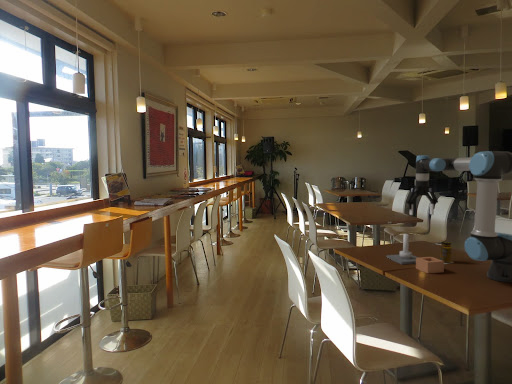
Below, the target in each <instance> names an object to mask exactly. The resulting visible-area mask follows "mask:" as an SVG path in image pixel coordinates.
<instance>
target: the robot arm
mask: <svg viewBox="0 0 512 384" xmlns="http://www.w3.org/2000/svg"><path fill="white" fill-rule="evenodd" d="M444 171H445V172H452V171H453V172H458V171H459V172H460V171H461V172H462V171H463V172H465V171H467V172H469V171H470V173H471V175H473V179H474V181H476V183H477V184H476V195H475V196H476V199H475V214H474V229H473V230H472V231H470V236H469V237H468V238H466V240H465V241H464V250H465V253H466V254H467V255H468V256H469V258H470V259H471V260H473V261H478V262H479V261H481V262H485V261H491V263H490V266H488V267H489V268H488V270H487V272H486V277H487V278H489V279H491V280H492V281H493V280H494V281H497V282H502V283H511V284H512V234H510V233H504V232H497V231H495V230H496V215H497V203H498V202H497V199H498V186H499V185H498V183H500V182H501V181H502V180H503V179H502V178H503V176H505V175H510V174H512V152H510V151H503V150H502V151H499V150H498V151H496V150H495V151H494V150H493V151H492V150H491V151H489V150H485V151H478V152H476V153H475V154H473V156H471V157H469V156H468V157H455V158H454V157H453V158H451V157H450V158H449V157H448V158H446V157H443V158H441V157H440V158H439V157H436V158H435V157H434V158H433V157H432V158H430V155H428V154H427V155H416V160H415V180H416V181H415V188H413V187H411V188H410V191H409V194H408V196H407V198H406V200H405V204H407V205H408V210H409V215H410V216H414V202H415V201H416V199H418V197H421V196H425V197H426V198H427V200H428V201H429V202H430V204H429V215H432V216H433V215H434V212H435V211H434V210H435V208H436V204H438V203H439V200H438V198H437V196H436V194H435V192H434V188H433V187H430V188H429V186H430V172H444Z"/></svg>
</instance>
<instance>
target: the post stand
mask: <svg viewBox="0 0 512 384" xmlns="http://www.w3.org/2000/svg"><path fill="white" fill-rule="evenodd" d="M402 237H403V240H402V242H403V243H402V250H399V254H389V255H385V256H386V257H387V258H386V257H385V258H386V259H388V258H389V259H388V260H390V259H391V261H393V262H395V263H397V264H400V265H411V264H415V265H416V258H420V257H418V256H415V255H413V252H412V251H409V240H410V239H409V237H410V235H409V234H408V233H403V236H402Z"/></svg>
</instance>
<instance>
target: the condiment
mask: <svg viewBox="0 0 512 384" xmlns="http://www.w3.org/2000/svg"><path fill="white" fill-rule="evenodd" d="M439 249H440V250H439V251H440V252H439V260H442V261H444V265H447V264H452V263H455V262H454V261H452V249H453V248H452V243H451V241H447V240H445V241H441V244H440V248H439Z"/></svg>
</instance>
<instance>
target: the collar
mask: <svg viewBox="0 0 512 384" xmlns="http://www.w3.org/2000/svg"><path fill="white" fill-rule="evenodd" d="M415 269H417V270H419V271H421V272H423V273H426V274H437V273H444V272H445V270H444V269H445V264H444V261H442V260H440V258H439V259H438V258H437V257H434V256H425V257H419V258H416V263H415Z"/></svg>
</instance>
